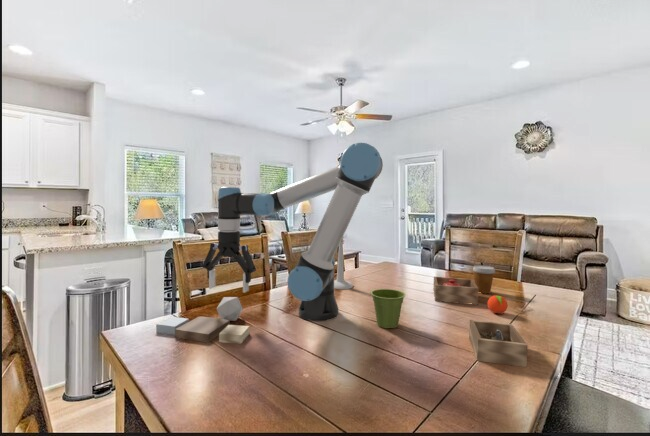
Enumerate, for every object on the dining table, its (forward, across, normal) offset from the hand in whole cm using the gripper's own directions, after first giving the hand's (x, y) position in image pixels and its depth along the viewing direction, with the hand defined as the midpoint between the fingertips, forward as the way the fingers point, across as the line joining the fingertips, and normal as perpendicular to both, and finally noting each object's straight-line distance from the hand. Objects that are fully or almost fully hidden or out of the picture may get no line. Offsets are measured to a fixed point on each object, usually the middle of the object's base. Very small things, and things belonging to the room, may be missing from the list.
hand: (228, 289), depth 119 cm
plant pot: (+10, -56, -12) cm, 58 cm away
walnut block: (+11, +1, +12) cm, 17 cm away
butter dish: (+10, -80, -52) cm, 96 cm away
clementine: (+9, -96, -36) cm, 102 cm away
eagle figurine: (+10, -88, 0) cm, 89 cm away
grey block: (+11, +12, +14) cm, 22 cm away
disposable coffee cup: (+9, -96, -66) cm, 116 cm away
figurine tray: (+9, -88, 0) cm, 88 cm away
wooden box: (+9, -82, -52) cm, 97 cm away
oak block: (+11, -11, +14) cm, 20 cm away
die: (+11, -1, 0) cm, 11 cm away
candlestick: (+10, -29, -56) cm, 63 cm away
